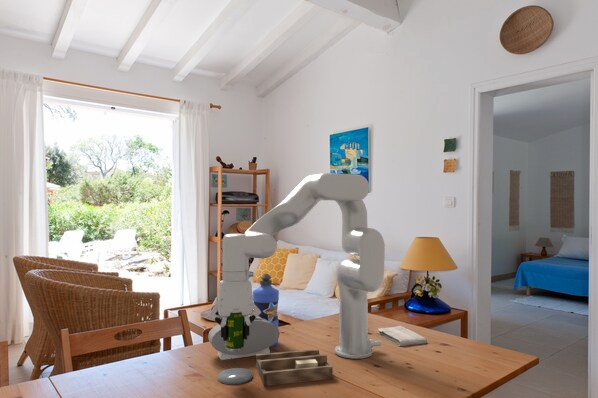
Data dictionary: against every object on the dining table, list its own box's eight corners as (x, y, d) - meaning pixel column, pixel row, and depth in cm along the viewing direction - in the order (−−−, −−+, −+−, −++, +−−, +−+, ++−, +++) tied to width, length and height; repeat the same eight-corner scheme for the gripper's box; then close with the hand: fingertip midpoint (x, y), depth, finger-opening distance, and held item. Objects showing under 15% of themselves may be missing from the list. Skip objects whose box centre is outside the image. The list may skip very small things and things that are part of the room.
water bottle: (247, 343, 157) (247, 274, 157) (268, 338, 163) (268, 271, 163) (263, 349, 150) (263, 277, 150) (284, 343, 156) (284, 274, 156)
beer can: (235, 344, 130) (236, 304, 130) (248, 348, 126) (248, 306, 126) (221, 348, 125) (222, 307, 126) (234, 352, 122) (234, 310, 122)
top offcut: (315, 367, 128) (315, 359, 128) (317, 371, 125) (317, 362, 125) (295, 368, 127) (295, 360, 127) (297, 372, 124) (297, 363, 124)
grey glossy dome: (250, 369, 132) (250, 366, 132) (255, 382, 122) (255, 379, 122) (216, 372, 129) (216, 369, 129) (219, 386, 120) (219, 383, 120)
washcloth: (400, 331, 174) (400, 323, 174) (428, 344, 157) (428, 336, 157) (374, 334, 170) (374, 326, 170) (400, 348, 153) (400, 339, 153)
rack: (318, 361, 138) (318, 345, 138) (332, 378, 125) (332, 361, 125) (256, 367, 133) (256, 351, 133) (263, 385, 120) (263, 367, 120)
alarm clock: (273, 347, 153) (273, 310, 153) (279, 352, 147) (279, 314, 147) (207, 355, 144) (207, 317, 144) (211, 362, 138) (211, 321, 138)
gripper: (262, 273, 132) (262, 333, 132) (204, 275, 128) (204, 337, 127) (266, 277, 125) (266, 340, 124) (206, 279, 120) (205, 345, 120)
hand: (235, 338), depth 126 cm, fingers closed on beer can, 5 cm apart
